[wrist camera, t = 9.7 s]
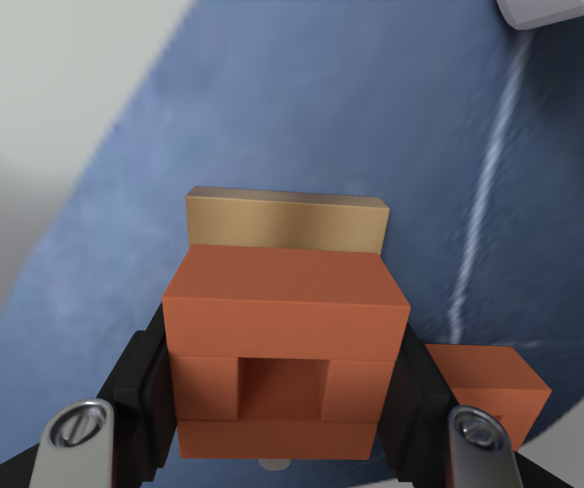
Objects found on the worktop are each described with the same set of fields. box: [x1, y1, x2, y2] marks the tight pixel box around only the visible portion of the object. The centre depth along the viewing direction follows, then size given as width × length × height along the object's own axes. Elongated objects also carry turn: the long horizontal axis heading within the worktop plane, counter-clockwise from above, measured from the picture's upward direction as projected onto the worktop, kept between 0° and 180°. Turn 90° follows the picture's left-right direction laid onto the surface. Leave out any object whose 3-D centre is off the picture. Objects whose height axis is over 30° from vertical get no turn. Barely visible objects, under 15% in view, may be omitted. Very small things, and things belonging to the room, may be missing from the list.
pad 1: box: [162, 244, 411, 460], centre depth 10 cm, size 6×6×3 cm
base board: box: [185, 186, 390, 471], centre depth 15 cm, size 8×14×5 cm, turn 176°
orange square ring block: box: [425, 344, 552, 452], centre depth 18 cm, size 6×6×3 cm
